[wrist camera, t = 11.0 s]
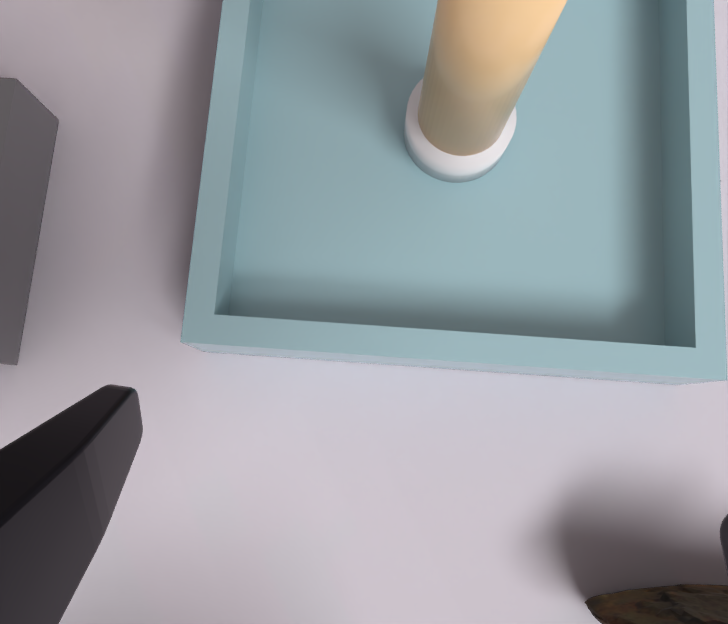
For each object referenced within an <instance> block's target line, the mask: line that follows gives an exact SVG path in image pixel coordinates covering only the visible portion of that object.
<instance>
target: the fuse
mask: <svg viewBox="0 0 728 624" xmlns="http://www.w3.org/2000/svg"><path fill="white" fill-rule="evenodd" d="M566 2H567V0H438V1H437V6H436V12H435V17H434V23H433V28H432V34H431V39H430V45H429V50H428V56H427V61H426V67H425V72H424V78H423V79H421V80H420V81H419V83H418V84H417V85H416V86H415V88H414V89H413V91H412V93H411V95H410V97H409V101H408V104H407V111H406V118H405V125H404V142H405V146H406V149H407V151H408V154H409V156H410V157H411V159H412V161H413V162H414V163H415V164H416V166H418V167H419V168H420V169H421V170H422V171H423V172H425V173H426V174H427V175H429V176H431V177H433V178H435V179H438V180H441V181H445V182H451V183H462V182H468V181H472V180H475V179H478V178H480V177H482V176H484V175H485V174H487V173H488V172H489V171H491V170H492V169H493V168H494V167H495V166H496V164H497V163H498V162H499V160H500V158H501V157H502V155H503V153H504V151H505V149H506V148H507V146H508V144H509V142H510V140H511V138H512V136H513V134H514V131H515V127H516V119H517V117H516V107H515V105H516V103H517V101H518V99H519V97H520V95H521V93H522V91H523V89H524V87H525V85H526V83H527V81H528V79H529V77H530V75H531V73H532V71H533V69H534V67H535V65H536V63H537V61H538V59H539V57H540V55H541V53H542V51H543V49H544V47H545V45H546V43H547V41H548V39H549V36H550V34H551V32H552V30H553V28H554V26H555V24H556V22H557V20H558V18H559V16H560V14H561V12H562V10H563V8H564V6H565V4H566Z"/></svg>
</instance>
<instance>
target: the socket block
mask: <svg viewBox="0 0 728 624" xmlns="http://www.w3.org/2000/svg"><path fill="white" fill-rule="evenodd" d="M58 121H59V120H58V119H57V118H56V117H55V116H54V115H53V114H52V113H51V112H50V111H49V110H48V109H47V108H46V107H45V106H44V105H43V104H42V103H41V102H40V101H39V100H38V99H37V98H36V97H35V96H34V95H33V94H32V93H31V92H30V91H28V90H27V89H26V88H25V87H24V86H23V85H22V84H21V83H20V82H19V81H18V80H17V79H13V78H0V364H8V365H17V362H18V356H19V350H20V345H21V339H22V333H23V327H24V321H25V315H26V309H27V303H28V298H29V292H30V286H31V280H32V274H33V268H34V262H35V256H36V251H37V245H38V239H39V233H40V227H41V221H42V215H43V210H44V204H45V198H46V192H47V186H48V180H49V174H50V168H51V163H52V157H53V151H54V145H55V139H56V133H57V127H58Z"/></svg>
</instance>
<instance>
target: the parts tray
mask: <svg viewBox="0 0 728 624" xmlns="http://www.w3.org/2000/svg"><path fill="white" fill-rule="evenodd" d="M437 1H438V0H223V2H222V10H221V19H220V27H219V35H218V43H217V51H216V59H215V67H214V75H213V83H212V91H211V99H210V107H209V116H208V124H207V132H206V140H205V148H204V156H203V164H202V172H201V180H200V188H199V196H198V205H197V213H196V221H195V229H194V237H193V245H192V253H191V261H190V269H189V277H188V285H187V293H186V302H185V310H184V318H183V326H182V334H181V343H184V344H186V345H189V346H191V347H194V348H196V349H199V350H201V351H204V352H215V353H230V354H244V355H258V356H273V357H287V358H301V359H316V360H330V361H344V362H358V363H373V364H387V365H401V366H416V367H430V368H444V369H459V370H473V371H487V372H502V373H516V374H530V375H545V376H559V377H573V378H588V379H602V380H616V381H630V382H645V383H659V384H673V385H683V384H693V383H704V382H714V381H725V380H727V358H726V330H725V302H724V274H723V246H722V219H721V191H720V163H719V135H718V107H717V79H716V51H715V23H714V0H567V2H566V4H565V6H564V8H563V10H562V12H561V14H560V16H559V18H558V20H557V22H556V24H555V26H554V28H553V30H552V32H551V34H550V36H549V39H548V41H547V43H546V45H545V47H544V49H543V51H542V53H541V55H540V57H539V59H538V61H537V63H536V65H535V67H534V69H533V71H532V73H531V75H530V77H529V79H528V81H527V83H526V85H525V87H524V89H523V91H522V93H521V95H520V97H519V99H518V101H517V103H516V105H515V107H516V117H517V119H516V127H515V131H514V134H513V136H512V138H511V140H510V142H509V144H508V146H507V148H506V149H505V151H504V153H503V155H502V157H501V158H500V160H499V162H498V163H497V164H496V166H495V167H494V168H493V169H492V170H491V171H489V172H488V173H487V174H485V175H484V176H482V177H480V178H478V179H475V180H472V181H468V182H462V183H451V182H445V181H441V180H438V179H435V178H433V177H431V176H429V175H427V174H426V173H425V172H423V171H422V170H421V169H420V168H419V167H418V166H416V164H415V163H414V162H413V161H412V159H411V157H410V156H409V154H408V151H407V149H406V146H405V142H404V125H405V118H406V111H407V104H408V101H409V97H410V95H411V93H412V91H413V89H414V88H415V86H416V85H417V84H418V83H419V81H420V80H421V79H423V78H424V72H425V67H426V61H427V56H428V50H429V45H430V39H431V34H432V28H433V23H434V17H435V12H436V6H437Z"/></svg>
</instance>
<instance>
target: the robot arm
mask: <svg viewBox="0 0 728 624" xmlns="http://www.w3.org/2000/svg"><path fill="white" fill-rule="evenodd" d="M142 432H143V426H142V418H141V412H140V405H139V398H138V394H137V392H136V390H135V389H133V388H131V387H124V386H118V385H106V386H104V387H102V388H100V389H98V390H97V391H95V392H93V393H92V394H90V395H89V396H87V397H85V398H84V399H82V400H80V401H79V402H77V403H75V404H74V405H72V406H71V407H69V408H67V409H66V410H64V411H62V412H61V413H59V414H57V415H56V416H54V417H53V418H51V419H49V420H48V421H46V422H44V423H43V424H41V425H39V426H38V427H36V428H35V429H33V430H31V431H30V432H28V433H26V434H25V435H23V436H21V437H20V438H18V439H17V440H15V441H13V442H12V443H10V444H8V445H7V446H5V447H3V448H2V449H0V624H59V622H60V620H61V618H62V616H63V614H64V612H65V610H66V608H67V606H68V604H69V603H70V601H71V599H72V597H73V595H74V593H75V591H76V589H77V587H78V585H79V583H80V581H81V579H82V578H83V576H84V574H85V572H86V570H87V568H88V566H89V564H90V562H91V560H92V558H93V556H94V554H95V552H96V551H97V548H98V546H99V544H100V542H101V540H102V538H103V536H104V534H105V531H106V529H107V527H108V524H109V522H110V519H111V517H112V514H113V512H114V509H115V506H116V504H117V501H118V499H119V496H120V493H121V491H122V488H123V486H124V483H125V481H126V478H127V475H128V473H129V470H130V468H131V465H132V462H133V460H134V457H135V455H136V452H137V449H138V447H139V444H140V441H141V438H142ZM720 540H721V545H722V550H723V555H724V560H725V565H726V570H727V575H728V514H727V515H726V517H725V518H724V520H723V521H722V524H721V528H720Z"/></svg>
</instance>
